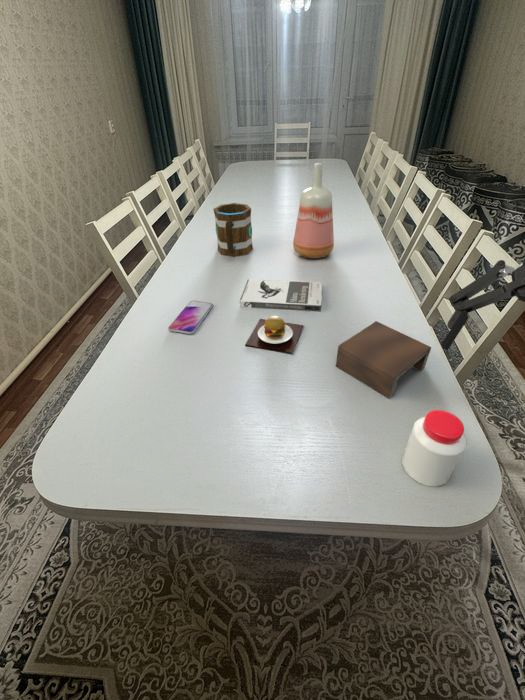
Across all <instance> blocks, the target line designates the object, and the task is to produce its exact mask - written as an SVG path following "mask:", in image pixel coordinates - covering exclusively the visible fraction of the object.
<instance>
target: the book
mask: <svg viewBox="0 0 525 700" xmlns="http://www.w3.org/2000/svg"><path fill="white" fill-rule="evenodd" d="M322 290H323V282H322V281H307V280H287V279H266V278H265V279H264V278H248V279H247V281H246V283H245V286H244V289H243V291H242V294H241V296H240V299H239V308H249V309H250V308H251V309H266V310H267V309H268V310H283V311H285V310H286V311H301V312H302V311H303V312H304V311H305V312H318V313H319V312H320V313H321V312H322V293H323V291H322Z"/></svg>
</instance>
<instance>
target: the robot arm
mask: <svg viewBox="0 0 525 700" xmlns="http://www.w3.org/2000/svg"><path fill="white" fill-rule="evenodd" d="M507 276H508V277H509V276H510V277H511V281H510V282H507V283H504V284H503V285H502V286H501V287H497V288H496V289H493V290H490V291H488V292H485V293H483V294H480V295H478V296H475V295H477V294H479V293H480V292H483V290H485V289H487V288H488V287H489V286H491V285H493V284H494V283H496V282H497V281H498V280H499V279H504V278H506V277H507ZM474 296H475V297H474ZM515 297H516V298H517V299H518V301H520V302H523V303H525V259H523V261H522V263H521V264H520V265H518V266H517V267H513V266H511V265H508V264H506V261H505V260H503V259H500V260H498V261H496V263H495V264H494V265H493V267H492V268H491V269H490V270H489V271H487V272H485V273H484V274H483V275H480V277H478V278H477V279H475V280H474V281H472V282H470V283H469V284H467V285H466V286H465V287H463V288H461V289H460V290H459V291H458V290H457V292H455V293H454V294H452V295H451V296H450V297H449V298H448V299H449V303H450V305H451V307H453V309H455V310H454V312H453V314H452V315H451V316H450V318H449V320H448V321H447V324H446V326H447V329H448V330H449V331H448V333H447V335H446V336H445V338H444V339H443V340H442V342H441V343H440V346H441V347H442V349H444V350H446V351H449V349H450V348H451V346H452V345H453V343H454V341H455V340H456V338H457V337H458V335H459V334H460V332H461V330H462V329H463V327H464V326H465V325H466V323H467V321H468V320H469V318H470V317H469V314H468V313H472V312H473V311H474V312H475V311H476V310H479V309H482V308H484V307H488V306H490V305H493V304H495V303H498V302H500V301H503V300H509V299H511V298H515Z"/></svg>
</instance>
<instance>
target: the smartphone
mask: <svg viewBox="0 0 525 700" xmlns="http://www.w3.org/2000/svg"><path fill="white" fill-rule="evenodd" d="M213 307H214V304H213V303H211V302H205V301H199V300H190V301H189V302H188V303H187V305H186V306H185V307H184V308H183V309H182V310H181V311H180V313H179V314H178V315H177V316H176V318H175V319H174V320H173V321H172V322H171V324H170V325H169V326H168V327H167V329H168V331H170V332H173V333H175V332H176V333H180V334H187V335H193V334H194V333H195V332H196V331H197V329H198V328H199V326H200V325H201V324H202V322H203V321H204V319H205V318H206V317H207V316H208V314H209V313H210V311H211V310H212V308H213Z"/></svg>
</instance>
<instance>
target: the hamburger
mask: <svg viewBox="0 0 525 700" xmlns="http://www.w3.org/2000/svg"><path fill="white" fill-rule="evenodd" d="M303 329H304V325H303V324H298V323H290V322H285V320H284V319H283V318H282V317H281V316H278V315H272V316H269V317H267V318H266V319H265V318H259V320H258V321H257V323H256V325H255V327H254V329H253V330H252V332H251V334H250V335H249V336H248V339H247V341H246V342H245V344H244V346H245V347H249V348H254V349H260V350H265V351H271V352H276V353H283V354H289V355H293V354H294V352H295V349H296V347H297V345H298V341H299V339H300V336H301V334H302V331H303Z"/></svg>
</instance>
